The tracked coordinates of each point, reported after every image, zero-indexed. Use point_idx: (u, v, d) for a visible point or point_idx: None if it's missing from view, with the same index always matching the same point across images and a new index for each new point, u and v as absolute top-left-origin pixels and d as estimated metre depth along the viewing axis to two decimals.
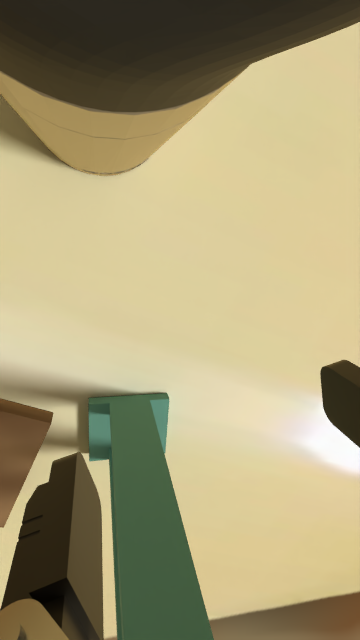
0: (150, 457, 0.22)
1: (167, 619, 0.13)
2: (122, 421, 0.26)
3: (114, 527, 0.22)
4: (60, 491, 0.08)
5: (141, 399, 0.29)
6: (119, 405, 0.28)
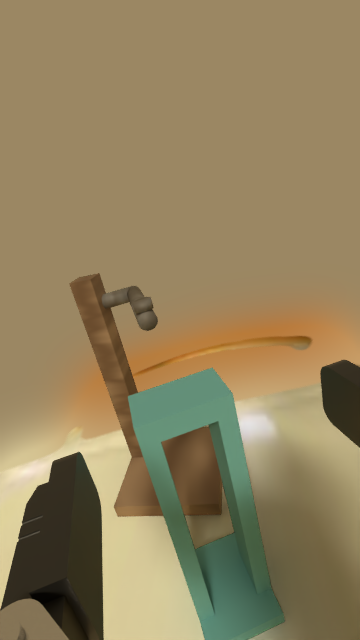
0: None
1: None
2: None
3: None
4: (60, 491, 0.08)
5: None
6: None
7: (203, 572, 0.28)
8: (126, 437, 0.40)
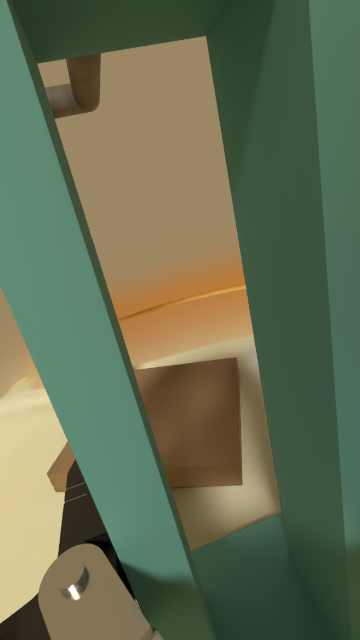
0: None
1: None
2: None
3: (152, 432, 0.09)
4: None
5: None
6: None
7: (210, 604, 0.12)
8: None
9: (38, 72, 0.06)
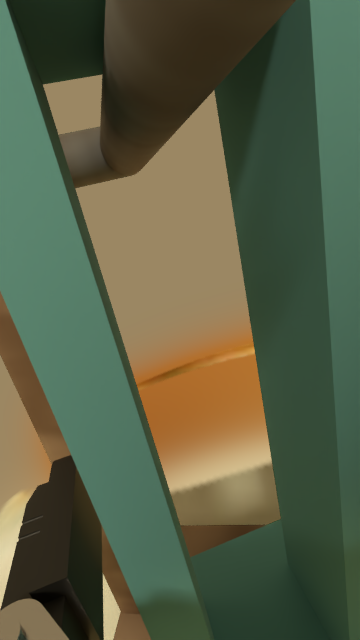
0: None
1: None
2: None
3: None
4: (60, 491, 0.08)
5: None
6: None
7: (209, 610, 0.12)
8: (106, 571, 0.15)
9: (44, 95, 0.06)
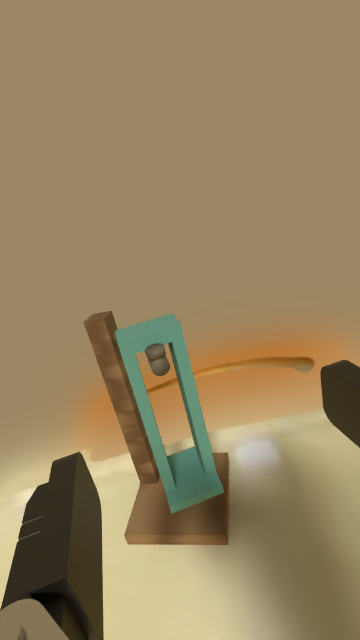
0: None
1: None
2: None
3: None
4: (60, 491, 0.08)
5: None
6: None
7: (171, 468, 0.38)
8: (135, 464, 0.42)
9: None
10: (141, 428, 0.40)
